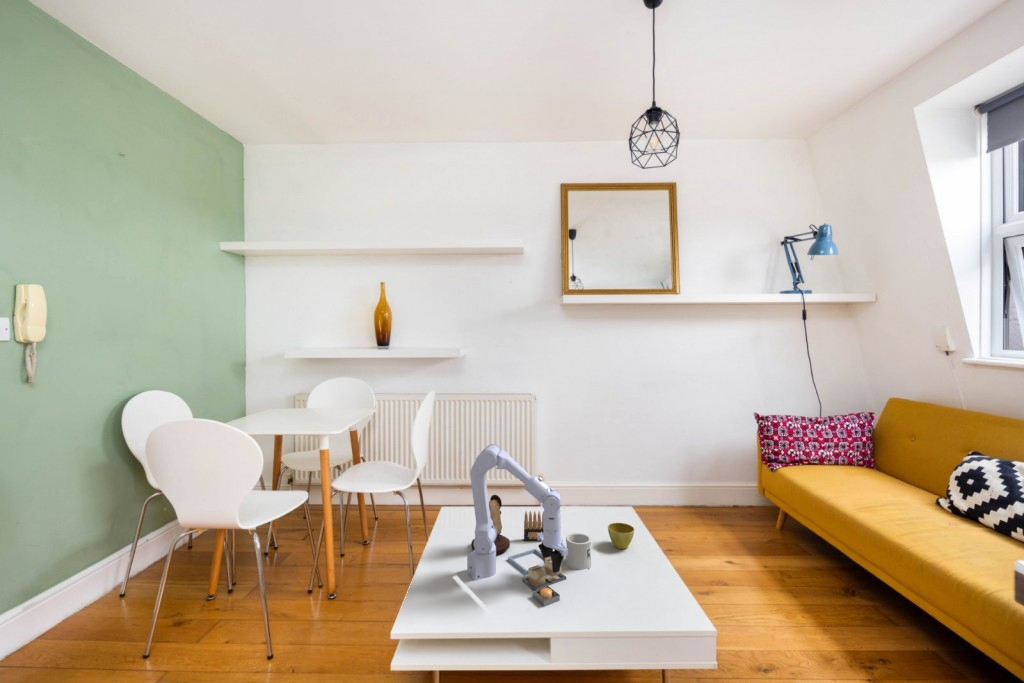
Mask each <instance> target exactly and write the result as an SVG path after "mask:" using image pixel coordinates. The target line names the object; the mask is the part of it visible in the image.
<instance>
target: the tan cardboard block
mask: <svg viewBox="0 0 1024 683" xmlns="http://www.w3.org/2000/svg"><path fill="white" fill-rule="evenodd" d="M544 565H545V572H546V573H547V574H546V575H548V574H549V575H550V576H551V577H553V576H556V575H557V576H559V575H558V574H561V573H562V565H561V566H560V570H559V572H556V573H554V572H553V568H552V560H551V556H550V557H547V558H545V564H544Z"/></svg>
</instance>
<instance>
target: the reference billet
mask: <svg viewBox="0 0 1024 683" xmlns="http://www.w3.org/2000/svg"><path fill="white" fill-rule="evenodd" d="M541 566H542V565H539V564H537V565H534V566H530V567H528V568H527V570H528V575H527V577H528V582H529V583H531V584H532V585H533V586H534V587H536V586H539V585H542V584H545V583H546V582H545V575H546V574H545V569H543V568H542V567H541Z"/></svg>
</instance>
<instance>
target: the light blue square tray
mask: <svg viewBox="0 0 1024 683" xmlns="http://www.w3.org/2000/svg"><path fill="white" fill-rule="evenodd" d="M532 554H537V555H538V556H540V557H541V558H542V559H543V556H542V553H541V551H540V549H537V548H533V549H529V550H526V551H523V552H520V553H517V554H513V555H510V556H508V557H507V561H509V563H511V564H513V565H514V566H515V567H516V568H518V569H519V570H520V571H521V572H522V573H524V574H525V575H527V576H528V569H526V568H525V567H524V566H522V565H521V564H520V563H518V562H517V561H516V559H518V558H519V559H520V558H523V557H526V556H529V555H532ZM540 566H541V567H542V568H543V569H545V564H542V565H540Z"/></svg>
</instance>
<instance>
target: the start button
mask: <svg viewBox="0 0 1024 683" xmlns="http://www.w3.org/2000/svg"><path fill="white" fill-rule="evenodd" d="M551 589H552V588H551ZM551 589H549V588H542V589H541V590H540V596H542V597H543V598H544V599H546V598H548V597H551V596H552V590H551Z"/></svg>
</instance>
